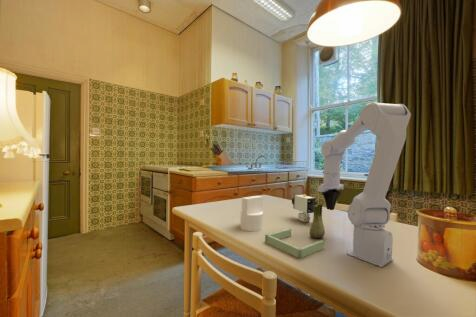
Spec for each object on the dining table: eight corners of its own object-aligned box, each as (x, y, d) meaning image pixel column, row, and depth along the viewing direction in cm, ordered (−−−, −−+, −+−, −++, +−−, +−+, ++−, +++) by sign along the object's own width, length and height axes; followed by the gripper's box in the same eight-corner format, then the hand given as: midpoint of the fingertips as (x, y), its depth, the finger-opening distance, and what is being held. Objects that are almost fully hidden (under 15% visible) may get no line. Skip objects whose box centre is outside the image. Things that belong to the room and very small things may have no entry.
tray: (323, 248, 69) (324, 241, 69) (299, 258, 62) (300, 250, 62) (289, 234, 81) (289, 228, 81) (265, 242, 73) (265, 234, 73)
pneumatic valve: (310, 225, 93) (311, 196, 92) (290, 218, 103) (291, 192, 103) (319, 223, 95) (320, 195, 95) (299, 216, 105) (300, 191, 105)
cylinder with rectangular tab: (251, 232, 82) (252, 200, 82) (235, 226, 89) (236, 196, 88) (267, 228, 88) (268, 197, 88) (251, 222, 95) (252, 194, 94)
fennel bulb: (319, 234, 82) (320, 202, 82) (328, 239, 78) (329, 205, 78) (306, 235, 80) (307, 202, 80) (315, 240, 76) (316, 206, 76)
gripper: (332, 172, 91) (331, 204, 91) (311, 173, 82) (309, 209, 83) (349, 173, 85) (348, 208, 86) (328, 175, 77) (327, 213, 77)
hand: (330, 209), depth 84 cm, fingers closed
